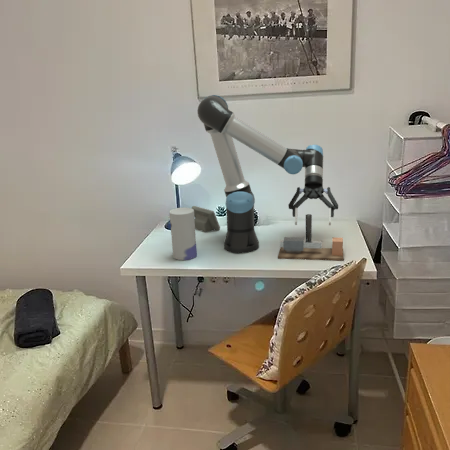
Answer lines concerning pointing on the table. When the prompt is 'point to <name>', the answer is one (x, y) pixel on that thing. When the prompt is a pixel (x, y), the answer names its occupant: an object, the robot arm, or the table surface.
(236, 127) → the robot arm
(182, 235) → the container
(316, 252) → the base board
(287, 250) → the outer sleeve
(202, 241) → the table surface
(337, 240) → the socket block
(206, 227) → the digital clock
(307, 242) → the sliding bolt
